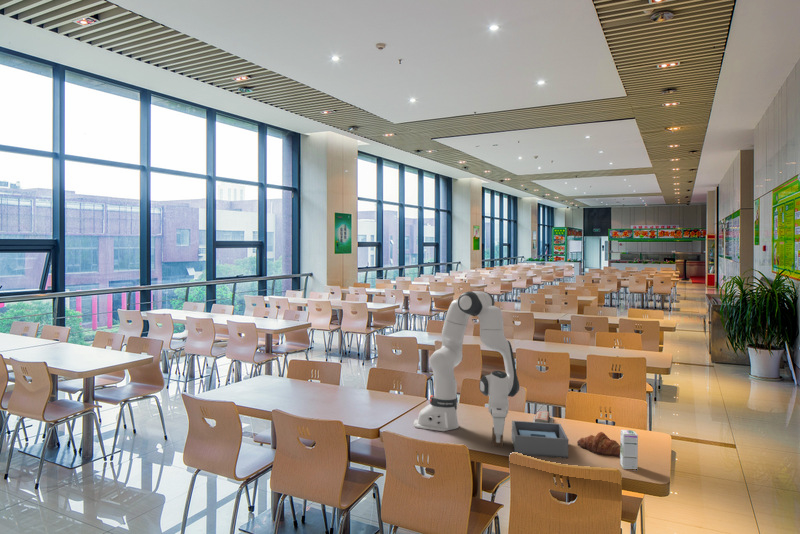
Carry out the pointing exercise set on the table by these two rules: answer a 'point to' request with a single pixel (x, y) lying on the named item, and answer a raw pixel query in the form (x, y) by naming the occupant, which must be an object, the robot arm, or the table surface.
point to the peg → (495, 439)
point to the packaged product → (543, 417)
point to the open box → (539, 439)
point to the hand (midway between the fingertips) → (497, 438)
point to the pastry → (600, 444)
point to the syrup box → (629, 449)
